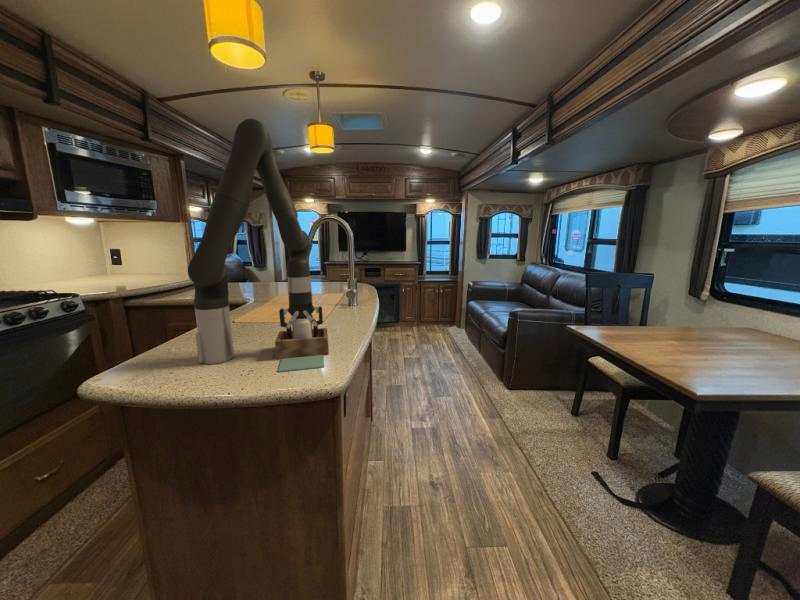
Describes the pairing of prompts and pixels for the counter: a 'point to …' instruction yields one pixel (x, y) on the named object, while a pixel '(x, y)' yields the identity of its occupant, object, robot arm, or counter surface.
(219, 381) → the counter surface
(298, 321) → the beverage can
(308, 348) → the walnut holder
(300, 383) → the counter surface
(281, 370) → the rubber mat
